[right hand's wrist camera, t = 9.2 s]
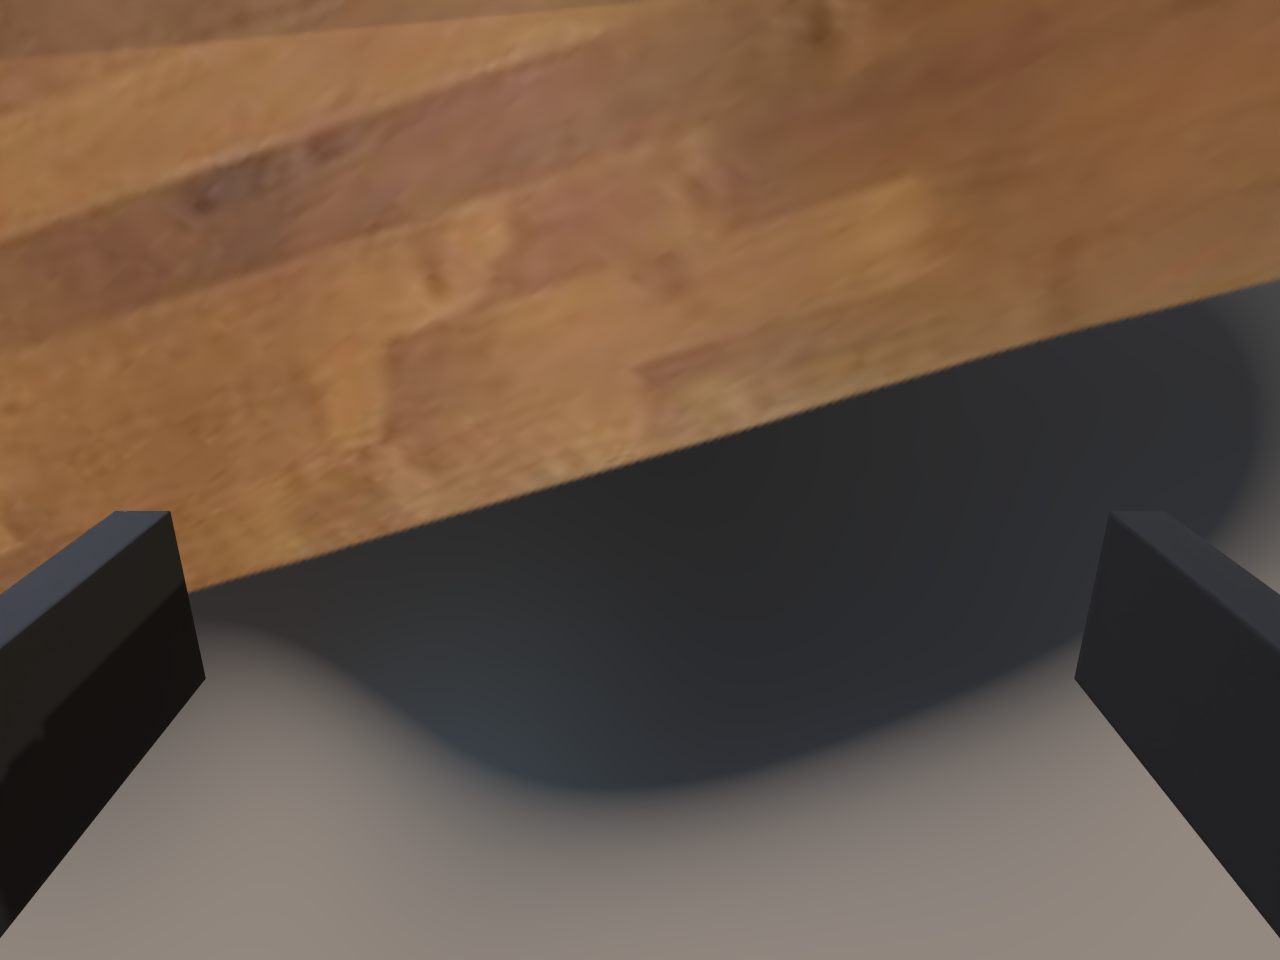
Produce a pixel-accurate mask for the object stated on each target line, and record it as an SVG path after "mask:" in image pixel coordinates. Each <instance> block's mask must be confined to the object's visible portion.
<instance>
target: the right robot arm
mask: <svg viewBox="0 0 1280 960" xmlns="http://www.w3.org/2000/svg"><path fill="white" fill-rule="evenodd" d="M204 680H205V673H204V668H203V664H202V659H201V654H200V650H199V645H198V640H197V635H196V631H195V626H194V621H193V616H192V612H191V607H190V602H189V598H188V593H187V588H186V583H185V579H184V574H183V569H182V565H181V560H180V555H179V550H178V546H177V541H176V536H175V531H174V527H173V522H172V517H171V513H170V511H115V512H113V513H112V514H111V515H109V516H108V517H107V518H105V519H104V520H102V521H101V522H100V523H98V524H97V525H96V526H94V527H93V528H91V529H90V530H89V531H87V532H86V533H85V534H83V535H82V536H80V537H79V538H78V539H76V540H75V541H74V542H72V543H71V544H69V545H68V546H67V547H65V548H64V549H63V550H61V551H60V552H58V553H57V554H56V555H54V556H53V557H52V558H50V559H49V560H47V561H46V562H45V563H43V564H42V565H41V566H39V567H38V568H36V569H35V570H34V571H32V572H31V573H30V574H28V575H27V576H25V577H24V578H23V579H21V580H20V581H19V582H17V583H16V584H14V585H13V586H12V587H10V588H9V589H7V590H6V591H5V592H3V593H2V594H1V595H0V938H1V936H2V935H3V934H4V933H5V931H6V930H7V929H8V927H9V926H10V925H11V924H12V922H13V921H14V920H15V919H16V917H17V916H18V915H19V914H20V912H21V911H22V910H23V909H24V907H25V906H26V905H27V904H28V902H29V901H30V900H31V898H32V897H33V896H34V895H35V893H36V892H37V891H38V890H39V888H40V887H41V886H42V885H43V883H44V882H45V881H46V880H47V878H48V877H49V876H50V874H51V873H52V872H53V871H54V869H55V868H56V867H57V866H58V864H59V863H60V862H61V861H62V859H63V858H64V857H65V856H66V854H67V853H68V852H69V850H70V849H71V848H72V847H73V845H74V844H75V843H76V842H77V840H78V839H79V838H80V837H81V835H82V834H83V833H84V831H85V830H86V829H87V828H88V826H89V825H90V824H91V823H92V821H93V820H94V819H95V818H96V816H97V815H98V814H99V813H100V811H101V810H102V809H103V808H104V806H105V805H106V804H107V802H108V801H109V800H110V799H111V797H112V796H113V795H114V794H115V792H116V791H117V790H118V789H119V787H120V786H121V785H122V784H123V782H124V781H125V780H126V778H127V777H128V776H129V775H130V773H131V772H132V771H133V770H134V768H135V767H136V766H137V765H138V763H139V762H140V761H141V760H142V758H143V757H144V756H145V754H146V753H147V752H148V751H149V749H150V748H151V747H152V746H153V744H154V743H155V742H156V741H157V739H158V738H159V737H160V736H161V734H162V733H163V732H164V730H165V729H166V728H167V727H168V725H169V724H170V723H171V722H172V720H173V719H174V718H175V717H176V715H177V714H178V713H179V712H180V710H181V709H182V708H183V707H184V705H185V704H186V703H187V701H188V700H189V699H190V698H191V696H192V695H193V694H194V693H195V691H196V690H197V689H198V688H199V686H200V685H201V684H202V683H203V681H204ZM1075 680H1076V681H1077V682H1078V684H1079V685H1080V686H1081V688H1082V689H1083V690H1084V691H1085V693H1086V694H1087V695H1088V696H1089V698H1090V699H1091V700H1092V701H1093V703H1094V704H1095V705H1096V706H1097V708H1098V709H1099V710H1100V712H1101V713H1102V714H1103V715H1104V717H1105V718H1106V719H1107V720H1108V722H1109V723H1110V724H1111V725H1112V727H1113V728H1114V729H1115V731H1116V732H1117V733H1118V734H1119V736H1120V737H1121V738H1122V739H1123V741H1124V742H1125V743H1126V744H1127V746H1128V747H1129V748H1130V749H1131V751H1132V752H1133V753H1134V754H1135V756H1136V757H1137V758H1138V759H1139V761H1140V762H1141V763H1142V765H1143V766H1144V767H1145V768H1146V770H1147V771H1148V772H1149V773H1150V775H1151V776H1152V777H1153V778H1154V780H1155V781H1156V782H1157V784H1158V785H1159V786H1160V787H1161V789H1162V790H1163V791H1164V792H1165V794H1166V795H1167V796H1168V797H1169V799H1170V800H1171V801H1172V802H1173V804H1174V805H1175V806H1176V807H1177V809H1178V810H1179V811H1180V812H1181V814H1182V815H1183V816H1184V818H1185V819H1186V820H1187V821H1188V823H1189V824H1190V825H1191V826H1192V828H1193V829H1194V830H1195V831H1196V833H1197V834H1198V835H1199V837H1200V838H1201V839H1202V840H1203V842H1204V843H1205V844H1206V845H1207V847H1208V848H1209V849H1210V850H1211V852H1212V853H1213V854H1214V856H1215V857H1216V858H1217V859H1218V861H1219V862H1220V863H1221V864H1222V866H1223V867H1224V868H1225V869H1226V871H1227V872H1228V873H1229V874H1230V876H1231V877H1232V878H1233V879H1234V881H1235V882H1236V883H1237V885H1238V886H1239V887H1240V888H1241V890H1242V891H1243V892H1244V893H1245V895H1246V896H1247V897H1248V898H1249V900H1250V901H1251V902H1252V904H1253V905H1254V906H1255V907H1256V909H1257V910H1258V911H1259V912H1260V914H1261V915H1262V916H1263V917H1264V919H1265V920H1266V921H1267V922H1268V924H1269V925H1270V926H1271V928H1272V929H1273V930H1274V931H1275V933H1276V934H1277V935H1278V936H1279V938H1280V595H1279V594H1278V593H1277V592H1275V591H1274V590H1272V589H1271V588H1270V587H1268V586H1267V585H1266V584H1264V583H1263V582H1261V581H1260V580H1259V579H1257V578H1256V577H1255V576H1253V575H1252V574H1250V573H1249V572H1248V571H1246V570H1245V569H1244V568H1242V567H1241V566H1239V565H1238V564H1237V563H1235V562H1234V561H1232V560H1231V559H1230V558H1228V557H1227V556H1226V555H1224V554H1223V553H1221V552H1220V551H1219V550H1217V549H1216V548H1215V547H1213V546H1212V545H1211V544H1209V543H1208V542H1206V541H1205V540H1204V539H1202V538H1201V537H1199V536H1198V535H1197V534H1195V533H1194V532H1193V531H1191V530H1190V529H1188V528H1187V527H1186V526H1184V525H1183V524H1181V523H1180V522H1179V521H1177V520H1176V519H1175V518H1173V517H1172V516H1171V515H1169V514H1168V513H1167V512H1165V511H1110V513H1109V517H1108V522H1107V527H1106V531H1105V536H1104V541H1103V546H1102V550H1101V555H1100V560H1099V565H1098V570H1097V574H1096V579H1095V584H1094V588H1093V593H1092V598H1091V602H1090V607H1089V612H1088V616H1087V621H1086V626H1085V631H1084V635H1083V640H1082V645H1081V650H1080V654H1079V659H1078V664H1077V668H1076V673H1075Z"/></svg>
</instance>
